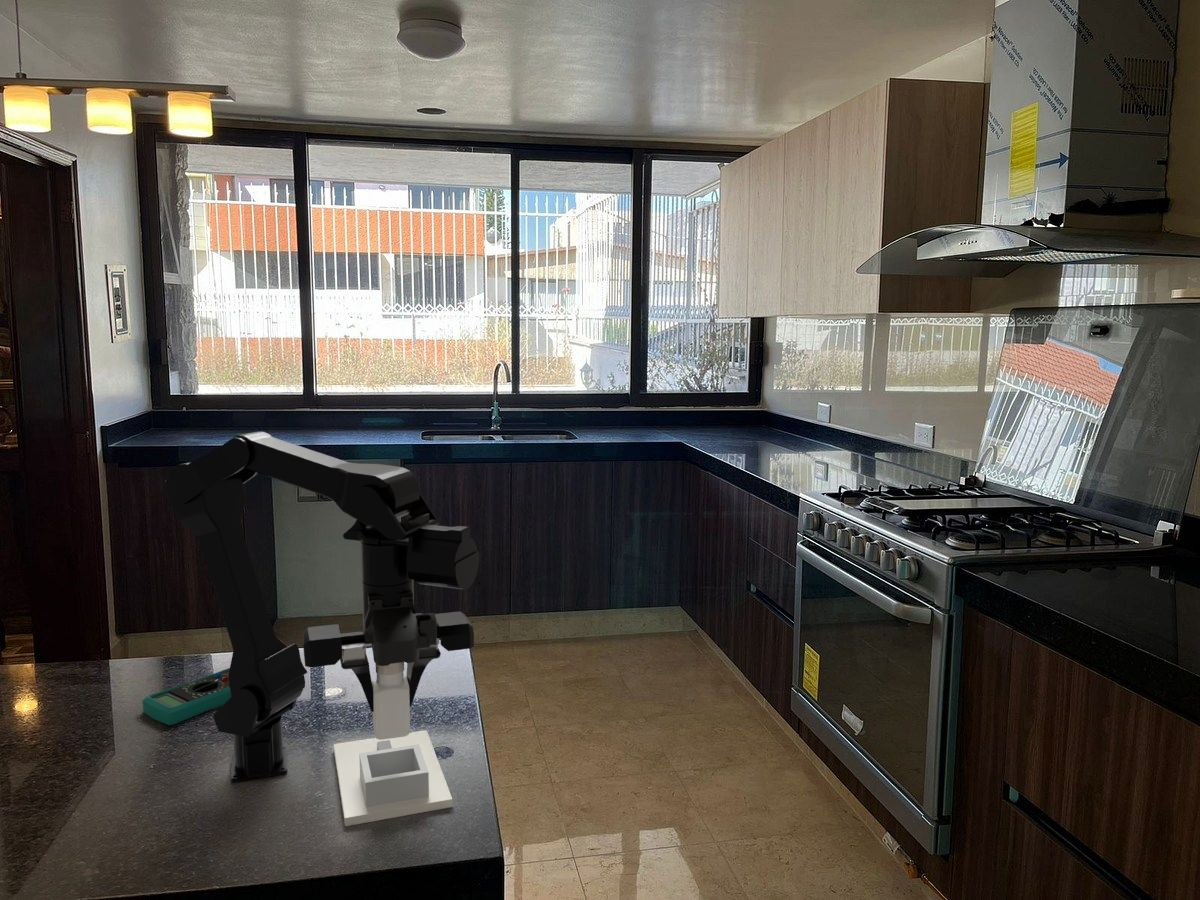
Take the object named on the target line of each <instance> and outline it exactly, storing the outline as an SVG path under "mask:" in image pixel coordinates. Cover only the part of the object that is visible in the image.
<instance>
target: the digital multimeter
mask: <svg viewBox="0 0 1200 900" xmlns="http://www.w3.org/2000/svg"><path fill="white" fill-rule="evenodd" d="M229 669H230V667H228V668H225V669H223V670H220V671H218V672H214V673H211V674H208V675H206V676H203V677H201V678H198V679H195V680H192V681H188V682H187V683H183V684H180V685H177V686H175V687H171V688H168V689H165V690H162V691H159V692H156V693H153V694H150V695H147V696H146V697H144V698H143V699H142V712H143V713H144V714H146V715H147V716H148V717H150V718H151V719H153V720H155V721H157V722H160V723H162V724H165V725H167V726H174V725H175V724H178V723H182V722H183V721H186V720H188V719H190V718H193V716H194V717H196V716H198V715H200V713H201V714H204V713H205V711H206V712H208V710H209V711H211V710H213V709H217V708H220V707H222V706H223V705H224V704H225V703H226V702H227V701H228V700H229V699H230V698H231V692H230V686H229V680H228V674H229ZM221 705H222V706H221ZM210 709H211V710H210ZM203 712H204V713H203Z"/></svg>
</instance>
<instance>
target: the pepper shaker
mask: <svg viewBox="0 0 1200 900" xmlns="http://www.w3.org/2000/svg"><path fill="white" fill-rule="evenodd" d="M404 671H405V662H401V663H393V664H389V665H388V666H379V665H377V664H376V663H375V673H376V678H375V679H373V680H371V681H372V687H373V702H374V712H372V726H373V727H372V728H373V732H374V738H376V739H379V740H382V739H390V738H397V737H405V736H407V735H409V733H411V715H410V713H411V711H410V710H411V709H410V708H411V707H410V700H409V684H408V680H407V678H406V676H404Z"/></svg>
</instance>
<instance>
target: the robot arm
mask: <svg viewBox="0 0 1200 900" xmlns="http://www.w3.org/2000/svg"><path fill="white" fill-rule="evenodd" d="M258 474H260V475H263V476H265V477H269V478H272V479H274V480H276V481H279V482H282V483H285V484H288V485H291V486H295V487H297V488H300V489H303V490H305V491H309V492H311V493H314V494H318V495H320V496H323V497H325V498H327V499H329V500H330V501H333V502H334V503H335V504H336V506H337V507H338V508H339V509H340V510H341V512H343V513H344V514H346V515H348V516H350V517H351V518H353V519H355V523H353V525H352V526H351V527H350V528H348V530H347V531H345V532H344V533H343V534H342V537H343V539H344V540H346V541H347V540H349V541H357V542H360V563H361V564H360V565H361V593H362V597H361V599H362V631H353V632H346V633H341V630H340V627H339V624H338V623H337V624H335V623H334V624H327V625H316V626H307V628H306V629H305V630H304V631H303V633H302V642H303V643H302V645H303V648H302V649H303V656H304V657H303V658H304V664H303V662H302V659H301V653H300V649H299V646H298V645H297V644H296V643H292V644H290V645H286V644H285V642H283V641H282V640H281V639H280V638H279V637H278V636H276V633H275V631H274V628H273V624H272V622H271V619H270V616H269V612H268V609H267V606H266V602H265V599H264V595H263V593H262V589H261V586H260V584H259V580H258V577H257V573H256V571H255V568H254V567H255V566H254V564H253V561H252V558H251V555H250V552H249V548H248V545H247V542H246V539H245V535H244V531H243V529H242V520H243V519H242V518H243V514H244V509H245V506H246V505H245V503H246V495H245V488H244V484H246V483H247V482H248V481H250V480H251V479H253V478H254V477H256V476H257V475H258ZM415 477H416V476H415V474H414V473H413V472H412V471H410V470H409V469H407V468H405V467H402V466H396V465H389V464H382V463H356V462H355V463H354V462H350V461H349V462H348V461H346V460H342V459H339V458H337V457H334V456H331V455H327V454H325V453H322V452H320V451H319V452H318V451H316V450H312V449H309V448H306V447H303V446H300V445H297V444H295V443H291V442H288V441H287V440H282V439H279V438H277V437H273V436H272V435H271V434H269V433H267V432H265V431H254V432H249V433H248V432H247V433H243V434H238V435H234V436H233V437H232V438H231V439H229V440H228V441H226V442H225V443H223V444H222V445H220V446H219V447H217V448H215V449H213V450H212V451H209V452H208V453H206V454H204V455H201V456H200V457H198V458H196V459H194V460H192V461H190V462H185V463H180V464H178V465H176V466H174V467H173V468H172V469H171V470H170V471H169V473H168V476H167V479H165V481H164V488H165V489H164V490H165V494H166V496H167V499H168V501H169V504H170V505H171V507H172V509H173V511H174V514H175V516H176V518H177V520H178V521H179V522H180V523H181V524H182V525H184V526H185V527H186V528H187V529H188V530H189V531H190V532H192V533H193V534H194V536H196V538H197V539H198V542H199V544H200V548H201V552H202V555H203V558H204V561H205V565H206V567H207V570H208V573H209V576H210V580H211V583H212V587H213V589H214V592H215V596H216V599H217V602H218V605H219V609H220V611H221V615H222V619H223V620H224V625H225V628H226V631H227V634H228V636H229V640H230V644H231V646H232V656H231V661H230V665H229V668H230V669H229V674H228V680H229V686H230V692H231V698H230V699H229V700H228V701H227V702H226V703H225V704H224V705H222V706H220V707H219V709H218V710H217V711H216V712H215V713H214V714H213V720H214V722H215V725H216V728H217V732H218V733H219V732H220V733H225V734H230V735H232V737H233V739H232V740H233V754H232V756H231V765H230V782H233V783H235V782H241V781H247V780H253V779H254V780H255V779H260V778H268V777H274V776H278V775H284V774H287V773H288V753H287V751H288V750H287V747H286V746H284V740H283V737H284V735H283V719H282V718H283V717H282V716H283V715H284V714H286V713H287V712H289V711H291V710H294V708H295V706H296V704H297V701H298V699H299V697H300V696H302V692H303V691H304V689H305V688H306V679H305V675H306V674H307V673H308V670H307V669H306V667H307V668H317V667H326V666H334V665H336V664H338V663H339V661H340V666H341V669H343V670H352V673H353V674H355V677H356V678H357V680H358V681H359V683H360V686H361V688H362V691H363V693H364V696H365V699H366V701H367V704H368V706H369V709H370V711H371V713H373V712H374V702H373V687H372V681H373V680H372V675H371V671H370V662H369V659H368V655H367V649H371V650H372V655H373V661H374V663H375V665H376V664H377V665H379V666H388V665H389V664H393V663H401V662H404V663H407V664H406V676H405V677H406V678H407V680H408V684H409V700H410V708H411V707H412V705H413V701H414V699H415V696H416V694H417V690H418V687H419V684H420V681H421V679H422V676H423V675H424V672H425V670H426V667H427V666H428V665H429V663H431V662H432V661H433V660H434V659H435V660H436V659H439V658H440V657H441V655H442V653H441V651H440V649H439V645H441V647H442V648H443V649H445V650H446V651H447V652H452V651H454V652H455V651H461V650H469V649H472V648H474V647H475V633H474V627H473V625H472V623H471V622H470V620H469V619H468V617H467V615H466V614H465V613H463V612H462V611H452V612H442V613H435V612H431V613H429V612H428V613H421V612H420V613H418V612H417V610H416V608H415V601H414V600H415V599H414V598H415V597H414V593H415V591H414V589H415V588H414V582H415V583H416V584H419V585H425V586H431V587H432V586H433V587H439V588H440V587H441V588H450V589H456V590H468V589H469V588H471V586H472V585H473V584H474V582H475V580H476V577H477V574H478V572H479V567H480V565H479V564H480V552H479V551H478V547H477V545H476V542H475V540H474V539H473V538H472V537H470V535H471V534H470V533H471V532H470V527H469V526H464V525H463V526H462V525H458V526H446V525H439V524H440V519H439V518H438V516H437V514H436V513H435V511H434V510H433V509H432V507H431V505H430V504H429V502H428V501H427V499H426V498H425V496H424V494H423V493H422V492H421V490H420V487H419V484H418V483H419V482H418V481H417V480H416V478H415ZM408 515H409V516H410V517H409V518H406V519H404V520H401V521H399V518H402V517H405V516H408ZM304 666H305V667H304Z"/></svg>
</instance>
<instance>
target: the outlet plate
mask: <svg viewBox="0 0 1200 900" xmlns="http://www.w3.org/2000/svg"><path fill="white" fill-rule="evenodd" d="M333 754H334V755H333V756H334V761H335V767H336V768H335V769H336V775H337V783H338V789H339V794H340V801H341V808H342V815H343V823H344V827H350V826H355V825H361V824H366V823H371V822H377V821H382V820H388V819H393V818H398V817H399V818H400V817H405V816H410V815H416V814H421V813H425V812H426V813H427V812H433V811H438V810H443V809H450V808H453V807H454V806H453V796H452V794H451V792H450V791H451V790H450V789H449V786H448V784H447V781H446V778H445V775H444V773H443V769H442V768H441V765H440V762H439V759H438V756H437V754H436V752H435V749H434V746H433V744H432V741H431V738H430V735H429V733H428V730H427V729H425V730H419V731H412V732H411V731H410V732H409V735H407V736H405V737H397V738H390V739H382V740H379V739H376V737H374V738H373V737H372V738H366V739H359V740H353V741H352V740H351V741H346V742H340V743H339V742H338V743H333Z"/></svg>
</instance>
